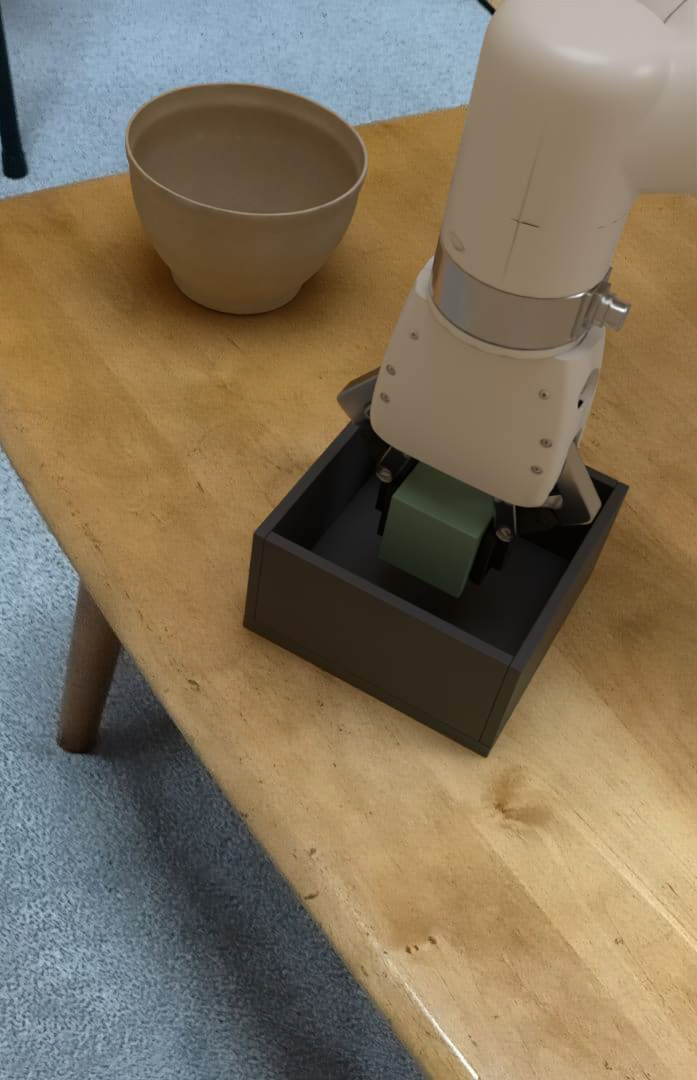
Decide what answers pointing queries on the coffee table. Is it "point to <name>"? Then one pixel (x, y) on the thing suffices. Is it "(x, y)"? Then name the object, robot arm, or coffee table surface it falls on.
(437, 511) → the box
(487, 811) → the coffee table surface
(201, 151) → the planter bowl
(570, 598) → the basket
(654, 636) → the coffee table surface
